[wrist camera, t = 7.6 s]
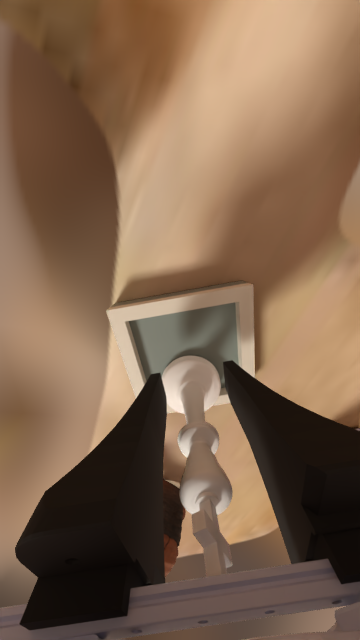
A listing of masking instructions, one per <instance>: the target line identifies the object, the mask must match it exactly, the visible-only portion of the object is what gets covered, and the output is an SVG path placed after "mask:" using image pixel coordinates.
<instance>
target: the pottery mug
mask: <svg viewBox="0 0 360 640" xmlns="http://www.w3.org/2000/svg"><path fill="white" fill-rule="evenodd" d="M179 490H180V489H179V488H177V487H176V486H174V485H173V484H171V483H169V482H167V481H165V480H163V525H164V564H165V577H166V576H167V574H168V573H169V572H170V571H171V569H172V567H173V565H174V564H175V562H176V558H177V556H178V548H177V547H178V546H179V542H180V539H181V530H182V527H181V525H182V520H183V519H184V517H185V508H184V506H183V505H182V503H181V500H180V496H179Z"/></svg>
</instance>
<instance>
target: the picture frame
mask: <svg viewBox="0 0 360 640" xmlns="http://www.w3.org/2000/svg"><path fill="white" fill-rule="evenodd" d="M106 312H107V314H108V318H109V321H110V324H111V327H112V330H113V332H114V335H115V338H116V341H117V344H118V347H119V350H120V353H121V356H122V359H123V362H124V365H125V368H126V371H127V374H128V377H129V380H130V383H131V386H132V388H133V391H134V394H135V397H136V398H137V396H138V395H139V393H140V392H141V390H142V388H143V387H144V385H145V383H146V382H147V380H148V378H149V376H150V375H151V374H155V373H160V374H161V377H162V375H163V372H164V370H165V369H166V367H167V366H168V365H169V364H170V363H171V362H172V361H174V360H176V359H178V358H180V357H183V356H199V357H202V358H204V359H206V360H208V361H209V362H210V363H212V364H213V365H214V367H215V368H216V370H217V372H218V374H219V378H220V383H221V389H220V394H219V397H218V399H217V401H216V402H215V403H214V405H213V406H215V405H221V404H227V403H231V402H230V400H229V397H228V394H227V391H226V388H225V379H224V369H223V362H225V361H231V360H233V361H234V362H235V363H236V364H238V365H239V366H240V367H241V368H242V369H244V370H245V371H246V372H247V373H249V374H250V375H251V376H253V377H254V378H255V352H254V289H253V284H250V283H247V282H245V281H237V282H231V283H225V284H220V285H214V286H208V287H203V288H197V289H192V290H186V291H180V292H175V293H169V294H163V295H158V296H152V297H147V298H141V299H135V300H130V301H124V302H118V303H115V304H114V305H112V306H111V307H110V308H109V309H107V310H106ZM173 412H177V411H175V410H174V409H172V408H171V407H170V406H169V405H168V404H167V413H173Z"/></svg>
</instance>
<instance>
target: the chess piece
mask: <svg viewBox="0 0 360 640" xmlns="http://www.w3.org/2000/svg"><path fill="white" fill-rule="evenodd" d="M162 381H163V385H164V389H165V393H166V399H167V404H168V405H169V406H170V407H171V408H172V409H174V410H175V411H177V412H180V413H183V414H185V418H186V422H187V425H185V426H184V427H183V428H182V429H181V431H180V432H179V435H178V445H179V448H180V450H181V452H182V453H183V455H184V456H186V457H187V462H186V467H185V471H184V473H183V476H182V480H181V484H180V490H179V496H180V500H181V503H182V505H183V506H184V508H185V509H186V510H187V511H188V512H189V513H191V514H192V526H193V534H194V536H195V537H196V539H197V540H198V541H199V543H200V544H201V545H202V547H203V548H204V558H205V568H206V577H209V576H216V575H222V574H227V570H226V568H228V567H230V566H233V563H232V558H231V553H230V548H229V544H228V543H227V541H226V540H225V538H224V537H223V535H222V534H221V533H220V530H219V524H218V519H217V515H219V514H220V513H222V512H223V511H224V510H225V509H226V508H227V507H228V506H229V504H230V502H231V499H232V487H231V484H230V481H229V479H228V477H227V476H226V474H225V472H224V470H223V469H222V468H221V467H220V465H219V463H218V462H217V459H216V457H215V455H214V454H215V452H216V451H217V449H218V446H219V435H218V432H217V430H216V429H215V428H214V427H213V426H212V425H211V424H209V423H207V422H205V415H204V411H206V410H208V409H209V408H210V407H212V406H213V405H214V403H215V402H216V401H217V399H218V397H219V394H220V389H221V383H220V378H219V374H218V372H217V370H216V368H215V367H214V365H213V364H212V363H210V362H209V361H208V360H206V359H204V358H202V357H199V356H183V357H180V358H178V359H176V360H174V361H172V362H171V363H170V364H169V365H168V366H167V367H166V369H165V370H164V372H163V375H162Z"/></svg>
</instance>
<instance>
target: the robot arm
mask: <svg viewBox="0 0 360 640" xmlns="http://www.w3.org/2000/svg"><path fill="white" fill-rule="evenodd" d="M223 369H224V379H225V388H226V391H227V394H228V397H229V400H230V402H231V405H232V407H233V409H234V411H235V413H236V415H237V417H238V420H239V422H240V424H241V426H242V428H243V430H244V432H245V434H246V437H247V439H248V441H249V444H250V446H251V449H252V451H253V454H254V457H255V459H256V462H257V465H258V467H259V470H260V473H261V476H262V479H263V481H264V484H265V487H266V490H267V493H268V496H269V498H270V501H271V504H272V507H273V510H274V513H275V516H276V519H277V522H278V525H279V528H280V531H281V534H282V537H283V539H284V543H285V546H286V549H287V552H288V554H289V558H290V560H291V564H289V565H282V566H275V567H269V568H262V569H256V570H249V571H242V572H236V573H229V574H222V575H216V576H209V577H202V578H196V579H189V580H183V581H177V582H169V583H165V564H164V525H163V452H164V440H165V429H166V417H167V399H166V393H165V389H164V385H163V381H162V377H161V374H160V373H155V374H151V375H150V376H149V378H148V380H147V382H146V383H145V385H144V387H143V388H142V390H141V392H140V393H139V395H138V396H137V398H136V399H135V401H134V402H133V404H132V405H131V407H130V408H129V409H128V411H127V412H126V414H125V415H124V416H123V417H122V419H121V420H120V421H119V422H118V424H117V425H116V426H115V427H114V428H113V430H112V431H111V432H110V433H109V434H108V435H107V436H106V437H105V438H104V439H103V440H102V441H101V442H100V444H99V445H98V446H97V447H96V448H95V449H94V450H93V451H92V452H90V453H89V454H88V455H87V456H86V457H85V458H84V459H83V460H82V461H81V462H80V463H79V464H78V465H77V466H75V467H74V468H73V469H72V470H71V471H70V472H68V473H67V474H66V475H65V476H64V477H62V478H61V479H60V480H59V481H58V482H57V483H55V484H54V485H53V486H52V487H50V488H49V489H48V490H47V491H45V493H44V495H43V497H42V498H41V500H40V502H39V503H38V505H37V507H36V509H35V511H34V513H33V515H32V516H31V518H30V520H29V522H28V524H27V526H26V528H25V530H24V532H23V533H22V535H21V537H20V539H19V541H18V543H17V545H16V547H15V552H16V557H17V558H18V560H19V561H20V562H21V563H22V564H23V565H24V566H25V567H26V568H28V569H29V570H30V571H31V572H32V573H34V574H35V575H36V576H37V577H38V580H37V582H36V585H35V587H34V590H33V592H32V594H31V597H30V599H29V602H28V604H24V605H17V606H10V607H3V608H0V640H118V639H121V638H127V637H135V636H142V635H149V634H155V633H161V632H169V631H176V630H183V629H190V628H196V627H203V626H209V625H217V624H223V623H230V622H237V621H244V620H251V619H258V618H265V617H271V616H278V615H285V614H292V613H299V612H306V611H313V610H320V609H326V608H332V607H340V606H346V607H343V608H340V609H338V610H336V611H335V618H336V623H335V625H334V626H332V627H331V628H330V629H329V630H328V631H327V632H312V633H297V634H284V635H274V636H266V637H256V638H249V639H242V640H360V428H358V429H353V428H350V427H347V426H345V425H342V424H340V423H337V422H335V421H332V420H330V419H328V418H325V417H323V416H321V415H318V414H316V413H314V412H312V411H310V410H308V409H306V408H304V407H301V406H299V405H297V404H295V403H294V402H292V401H290V400H288V399H286V398H285V397H283V396H281V395H279V394H278V393H276V392H274V391H273V390H271V389H270V388H268V387H267V386H265V385H264V384H262V383H261V382H259V381H258V380H257V379H255V378H254V377H253V376H251V375H250V374H249V373H247V372H246V371H245V370H244V369H242V368H241V367H240V366H239V365H238V364H236V363H235V362H234V361H233V360H231V361H225V362H223ZM347 605H349V606H347Z"/></svg>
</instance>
